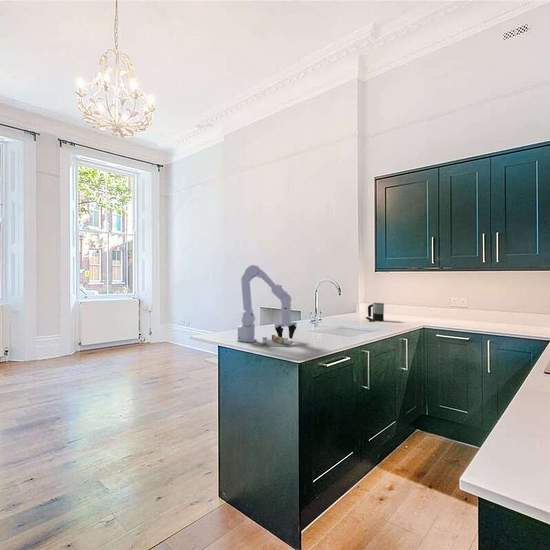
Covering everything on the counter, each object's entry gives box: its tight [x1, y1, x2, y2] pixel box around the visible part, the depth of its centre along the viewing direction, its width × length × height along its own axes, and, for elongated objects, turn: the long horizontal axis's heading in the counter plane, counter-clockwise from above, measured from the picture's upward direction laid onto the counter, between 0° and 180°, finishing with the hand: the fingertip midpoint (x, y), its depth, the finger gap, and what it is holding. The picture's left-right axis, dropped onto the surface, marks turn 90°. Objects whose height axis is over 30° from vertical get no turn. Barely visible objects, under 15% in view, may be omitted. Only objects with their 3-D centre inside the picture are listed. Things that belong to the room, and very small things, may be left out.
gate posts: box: [261, 336, 289, 346], centre depth 194 cm, size 14×3×4 cm, turn 86°
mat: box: [260, 339, 294, 348], centre depth 199 cm, size 15×16×1 cm
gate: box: [271, 334, 285, 344], centre depth 199 cm, size 10×1×3 cm, turn 35°
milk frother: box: [365, 302, 385, 322], centre depth 298 cm, size 14×16×15 cm
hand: (285, 339), depth 204 cm, fingers open, 7 cm apart
